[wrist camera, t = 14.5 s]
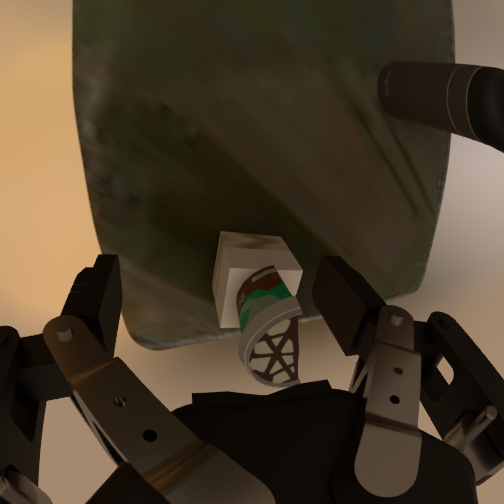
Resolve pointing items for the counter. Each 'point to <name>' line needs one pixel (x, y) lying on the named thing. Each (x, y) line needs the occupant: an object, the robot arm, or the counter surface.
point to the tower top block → (243, 266)
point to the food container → (269, 329)
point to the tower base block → (243, 242)
